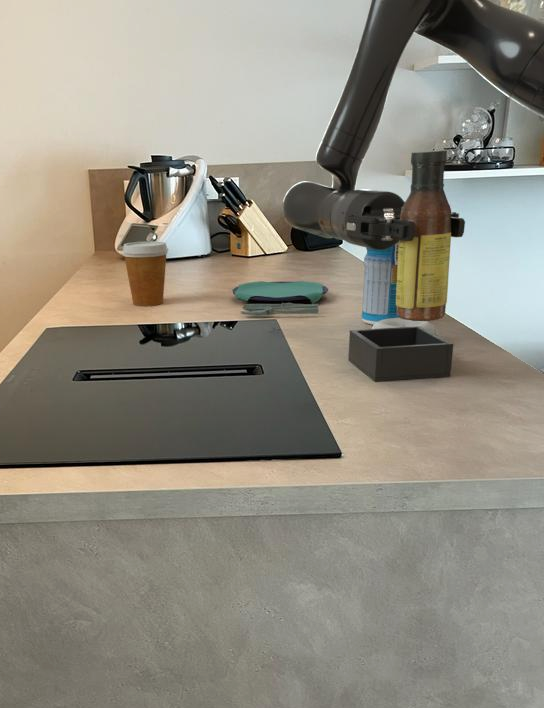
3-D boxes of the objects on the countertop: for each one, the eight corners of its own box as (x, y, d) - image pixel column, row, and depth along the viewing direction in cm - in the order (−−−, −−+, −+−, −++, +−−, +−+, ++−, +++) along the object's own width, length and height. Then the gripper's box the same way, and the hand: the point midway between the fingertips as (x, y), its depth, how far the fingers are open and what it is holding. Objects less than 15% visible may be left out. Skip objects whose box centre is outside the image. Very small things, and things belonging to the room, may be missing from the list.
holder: (417, 356, 117) (419, 325, 115) (450, 376, 106) (453, 343, 105) (348, 360, 116) (349, 330, 114) (374, 381, 105) (376, 348, 104)
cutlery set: (327, 290, 171) (328, 279, 170) (328, 318, 144) (329, 305, 143) (236, 290, 174) (236, 280, 173) (221, 318, 147) (221, 306, 146)
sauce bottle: (450, 314, 102) (468, 148, 94) (438, 324, 97) (455, 150, 89) (400, 310, 105) (413, 149, 97) (385, 320, 100) (398, 151, 92)
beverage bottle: (357, 325, 137) (364, 205, 129) (363, 316, 144) (370, 201, 137) (407, 327, 134) (417, 204, 127) (411, 317, 142) (420, 200, 134)
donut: (371, 351, 121) (438, 350, 119) (372, 329, 120) (440, 328, 118) (368, 337, 130) (430, 335, 128) (368, 316, 129) (432, 314, 127)
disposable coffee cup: (152, 297, 170) (148, 240, 166) (180, 302, 164) (177, 242, 159) (116, 303, 165) (112, 244, 160) (143, 309, 158) (140, 247, 153)
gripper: (321, 192, 106) (385, 200, 91) (415, 187, 109) (492, 193, 95) (319, 250, 109) (381, 266, 94) (411, 243, 112) (484, 257, 98)
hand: (436, 230), depth 94 cm, fingers closed on sauce bottle, 6 cm apart
